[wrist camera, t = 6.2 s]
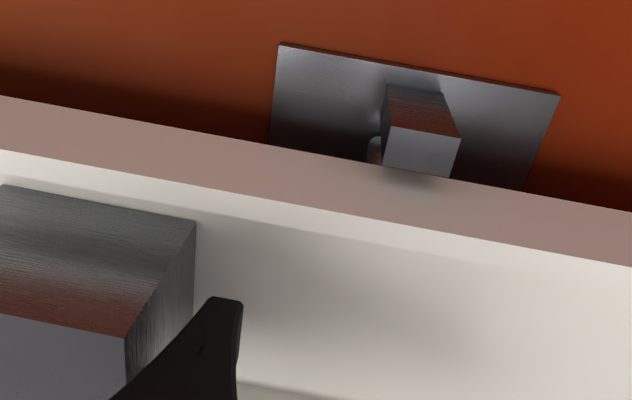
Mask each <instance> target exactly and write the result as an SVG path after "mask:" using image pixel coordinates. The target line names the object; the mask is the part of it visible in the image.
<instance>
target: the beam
mask: <svg viewBox="0 0 632 400" xmlns="http://www.w3.org/2000/svg"><path fill="white" fill-rule="evenodd" d="M2 184H8V185H13V186H18V187H23V188H28V189H33V190H38V191H43V192H48V193H53V194H58V195H63V196H68V197H73V198H78V199H83V200H88V201H93V202H98V203H104V204H109V205H114V206H119V207H124V208H129V209H134V210H139V211H144V212H149V213H154V214H159V215H164V216H169V217H174V218H179V219H184V220H189V221H195V222H196V247H195V272H194V298H193V317H194V315H195V314H196V313H197V312H198V310H199V309H200V308H201V307H202V305H203V304H204V303H205V302H206V300H207V299H208V298H210V297H211V296H216V297H221V298H227V299H232V300H237V301H240V302H241V303H242V304H243V305H244V309H243V319H242V328H241V337H240V347H239V356H238V360H237V365H236V387H237V400H632V212H627V211H621V210H616V209H610V208H605V207H600V206H594V205H589V204H584V203H578V202H573V201H567V200H562V199H557V198H551V197H546V196H540V195H535V194H530V193H524V192H519V191H514V190H508V189H503V188H497V187H492V186H487V185H481V184H476V183H470V182H465V181H460V180H454V179H449V178H444V177H438V176H433V175H427V174H422V173H417V172H411V171H406V170H401V169H395V168H390V167H384V166H379V165H374V164H368V163H363V162H357V161H352V160H347V159H341V158H336V157H331V156H325V155H320V154H314V153H309V152H304V151H298V150H293V149H287V148H282V147H277V146H271V145H266V144H261V143H255V142H250V141H244V140H239V139H234V138H228V137H223V136H218V135H212V134H207V133H201V132H196V131H191V130H185V129H180V128H174V127H169V126H164V125H158V124H153V123H148V122H142V121H137V120H131V119H126V118H121V117H115V116H110V115H104V114H99V113H94V112H88V111H83V110H78V109H72V108H67V107H61V106H56V105H51V104H45V103H40V102H35V101H29V100H24V99H18V98H13V97H8V96H2V95H0V186H1V185H2Z"/></svg>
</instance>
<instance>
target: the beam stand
mask: <svg viewBox="0 0 632 400" xmlns="http://www.w3.org/2000/svg"><path fill="white" fill-rule="evenodd" d="M560 98H561V96H560V95H559V94H558V93H557V92H554V91H548V90H543V89H537V88H532V87H526V86H521V85H515V84H510V83H504V82H499V81H493V80H488V79H482V78H476V77H471V76H465V75H460V74H454V73H449V72H443V71H438V70H432V69H427V68H421V67H416V66H410V65H405V64H399V63H394V62H388V61H383V60H377V59H371V58H366V57H360V56H355V55H349V54H344V53H338V52H333V51H327V50H322V49H316V48H311V47H305V46H300V45H294V44H289V43H283V42H281V43H280V44H279V49H278V57H277V66H276V75H275V84H274V93H273V101H272V110H271V119H270V128H269V137H268V145H271V146H277V147H282V148H287V149H293V150H298V151H304V152H309V153H314V154H320V155H325V156H331V157H336V158H341V159H347V160H352V161H357V162H363V163H368V164H374V165H379V166H384V167H390V168H395V169H401V170H406V171H411V172H417V173H422V174H427V175H433V176H438V177H444V178H449V179H454V180H460V181H465V182H470V183H476V184H481V185H487V186H492V187H497V188H503V189H508V190H514V191H519V192H521V191H522V189H523V186H524V184H525V182H526V179H527V177H528V174H529V172H530V170H531V167H532V165H533V162H534V160H535V158H536V155H537V153H538V150H539V148H540V146H541V143H542V141H543V138H544V136H545V134H546V131H547V129H548V126H549V124H550V122H551V119H552V117H553V115H554V112H555V110H556V107H557V105H558V103H559V100H560Z"/></svg>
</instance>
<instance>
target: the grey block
mask: <svg viewBox="0 0 632 400" xmlns="http://www.w3.org/2000/svg"><path fill="white" fill-rule="evenodd" d="M195 247H196V222H195V221H189V220H184V219H179V218H174V217H169V216H164V215H159V214H154V213H149V212H144V211H139V210H134V209H129V208H124V207H119V206H114V205H109V204H104V203H98V202H93V201H88V200H83V199H78V198H73V197H68V196H63V195H58V194H53V193H48V192H43V191H38V190H33V189H28V188H23V187H18V186H13V185H8V184H2V185H1V186H0V400H108V399H110V398H111V397H112V396H113V395H114V394H116V393H117V392H118V391H119V390H120V389H121V388H123V387H124V386H125V385H126V384H127V383H128V382H130V381H131V380H132V379H133V378H134V377H135V376H136V375H137V374H138V373H139V372H140V371H141V370H142V369H144V368H145V367H146V366H147V365H148V364H149V363H150V362H151V361H152V360H153V359H154V358H155V357H156V356H157V355H158V354H159V353H160V352H161V351H162V350H163V349H164V348H165V347H166V346H167V345H168V344H169V343H170V342H171V341H172V340H173V339H174V338H175V337H176V336H177V335H178V334H179V332H180V331H181V330H182V329H183V328H184V327H185V326H186V325H187V323H188V322H189V321H190V320H191V319H192V318H193V298H194V272H195Z"/></svg>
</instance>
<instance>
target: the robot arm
mask: <svg viewBox="0 0 632 400" xmlns="http://www.w3.org/2000/svg"><path fill="white" fill-rule="evenodd" d="M243 309H244V305H243V304H242V303H241V302H240V301H237V300H232V299H227V298H221V297H216V296H211V297H210V298H208V299H207V300H206V302H205V303H204V304H203V305H202V307H201V308H200V309H199V310H198V312H197V313H196V314H195V315H194V317H193V318H192V319H191V320H190V321H189V322H188V323H187V325H186V326H185V327H184V328H183V329H182V330H181V331H180V332H179V334H178V335H177V336H176V337H175V338H174V339H173V340H172V341H171V342H170V343H169V344H168V345H167V346H166V347H165V348H164V349H163V350H162V351H161V352H160V353H159V354H158V355H157V356H156V357H155V358H154V359H153V360H152V361H151V362H150V363H149V364H148V365H147V366H146V367H145V368H144V369H142V370H141V371H140V372H139V373H138V374H137V375H136V376H135V377H134V378H133V379H132V380H131V381H130V382H128V383H127V384H126V385H125V386H124V387H123V388H121V389H120V390H119V391H118V392H117V393H116V394H114V395H113V396H112V397H111V398H110V399H108V400H237V387H236V365H237V360H238V356H239V347H240V337H241V328H242V319H243Z"/></svg>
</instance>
